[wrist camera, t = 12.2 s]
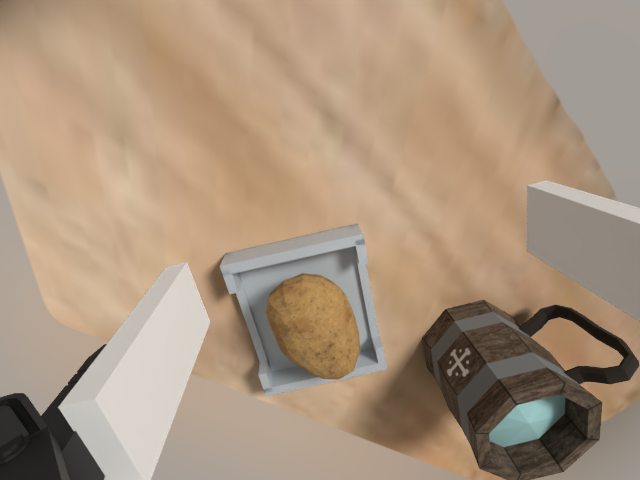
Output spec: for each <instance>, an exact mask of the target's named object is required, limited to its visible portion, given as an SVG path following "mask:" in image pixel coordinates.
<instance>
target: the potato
mask: <svg viewBox="0 0 640 480" xmlns="http://www.w3.org/2000/svg"><path fill="white" fill-rule="evenodd" d="M266 314H267V318H268V321H269V325H270V327H271V329H272V332H273V334H274V336H275V338H276V341H277V343H278V346H279V348H280V350H281V351H282V352H283V354H284V355H285V356H286V357H287V358H288V359H289V360H290V361H291V362H293V363H295V364H296V365H298V366H300V367H301V368H303V369H304V370H306V371H307V372H309V373H311V374H312V375H315V376H317V377H320V378H322V379H335V380H338V379H340V378H342V377H344V376H346V375H347V374H349V373H351V372H352V371H354V368H355V365H356V362H357V359H358V356H359V351H360V339H359V331H358V326H357V322H356V318H355V316H354V313H353V310H352V308H351V306H350V303H349V301H348V299H347V296H346V295H345V293H344V291H343V290H342V289H341V288H339V287H338V286H337V285H336V284H335V283H334V282H333V281H331V280H329V279H327V278H325V277H323V276H321V275H316V274H306V273H302V274H300V275H297V276H295V277H292V278H290V279H287V280H284V281H283V282H282V283H281V284H280V285H279V286H277V287H276V288H275V289H274V290H273V291H272V292H271V293H270V296H269V298H268V304H267V310H266Z"/></svg>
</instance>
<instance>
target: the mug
mask: <svg viewBox="0 0 640 480" xmlns="http://www.w3.org/2000/svg"><path fill="white" fill-rule="evenodd" d="M558 317H561V318H564V319H567V320H570V321H573V322H574V323H576V324H577V325H578V326H580V327H581V328H583V329H584V330H585V331H587V332H588V333H589V334H591V335H592V336H593V337H595V338H596V339H597V340H599V341H601V342H603V343H605V344H606V345H608V346H610V347H612V348H614V349H615V350H617V351H618V352H619V353H620V354H621V355H622V356H623V357H624V359H623V360H622V362H621V363H620V365H619V366H614V367H608V368H598V367H590V366H577V367H575V368H572V369H570V370H567V371H565V370H564V369H563V368H562V367H561V365H560V364H559V363H558V362H557V361H556V359H555V358H554V357H553V356H552V355H551V354H550V352H549V351H547V350H546V349H545V348H543V347H542V346H541V345H540V344H538V343H537V342H536V341H534V340H533V339H532V338H531V336H532V335H534V334H535V333H536V332H537V331H539V330H540V329H541V328H542V327H543V326H544V325H545V324H546V323H547V321H548V320H551V319H554V318H558ZM422 340H423V346H424V352H425V358H426V364H427V368H428V369H429V371H430V372H431V373H432V375H433V376H434V377H435V379H436V381H437V383H438V385H439V386H440V388H441V390H442V393H443V395H444V397H445V400H446V402H447V405H448V407H449V410H450V411H451V413H452V414H453V416H454V417H455V419H456V420H457V422H458V423H459V425H460V426H461V428H462V430H463V432H464V434H465V436H466V437H467V439H468V441H469V443H470V445H471V448H472V450H473V453H474V455H475V458H476V461H477V463H478V466H479V468H480V469H482V470H484V471H487V472H489V473H492V474H494V475H497V476H499V477H502V478H504V479H506V480H531V479H535V478H540V477H544V476H548V475H552V474H556V473H561V472H564V471H565V470H566V469H567V468H568V467H569V466H571V465H572V464H573V463H574V462H575V461H576V460H577V459H578V458H580V457H581V456H582V455H583V454H584V453H585V452H586V451H587V450H588V449H590V448H591V447H592V446H593V445H594V444H595V443H596V442H597V441H598V440H599V438H600V425H601V412H602V402H601V401H600V400H598V399H597V398H596V397H595V396H593V395H592V394H591V393H589V392H588V391H587V390H586V389H584V388H583V387H582V386H580V385H579V384H581V383H583V382H598V383H605V384H613V383H618V382H623V381H628V380H630V379H631V377H632V376H633V374H634V373H635V371H636V370H637V368H638V367H639V361H638V360H637V358H636V357H635V355H634V354H633V353H632V351H631V350H630V348H629V347H628V345H627V344H626V343H625V342H624V341H623V340H622V339H621V338H619V337H617V336H615V335H613V334H612V333H610V332H608V331H606V330H605V329H603V328H601V327H599V326H598V325H596V324H595V323H594V322H592V321H591V320H589V319H588V318H586V317H585V316H583V315H582V314H580V313H578V312H577V311H575V310H574V309H572V308H568V307H564V306H559V305H553V306H549V307H545V308H542V309H540V310H539V311H538V312H537V313H536V314H535V315H534V316H533V317H532V318H530V319H529V320H528V321H527V322H526V323H524V324H523V325H522V326H521V327H520V326H519V325H518V324H517V322H516V321H515V320H514V318H513V317H512V316H511V315H509V314H507V313H506V312H504V311H502V310H500V309H499V308H497V307H495V306H493V305H492V304H490V303H488V302H486V301H485V300H481V301H477V302H473V303H469V304H465V305H461V306H457V307H453V308H449V309H445V310H444V312H443V313H442V314H441V315H440V317H439V318H438V319H437V320H436V322H435V323H434V324H433V325H432V326H431V328H430V329H429V330H428V331H427V333H426V334H425V335H424V336H423V338H422Z"/></svg>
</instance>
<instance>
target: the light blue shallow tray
mask: <svg viewBox="0 0 640 480" xmlns="http://www.w3.org/2000/svg"><path fill="white" fill-rule="evenodd" d="M367 263H368V259H367V254H366V248H365V243H364V237H363V233H362V231H361V229H360V228H359V226H358V224H354V225H350V226H345V227H341V228H336V229H332V230H328V231H323V232H319V233H314V234H310V235H306V236H301V237H297V238H292V239H288V240H284V241H279V242H275V243H270V244H266V245H262V246H257V247H253V248H248V249H244V250H240V251H235V252H231V253H226V254H225V255H224V258H223V260H222V262H221V264H220V269H221V272H222V275H223V277H224V280H225V283H226V286H227V289H228V291H229V294H234V293H236V295H237V298H238V301H239V304H240V307H241V310H242V313H243V315H244V318H245V321H246V324H247V327H248V330H249V333H250V336H251V338H252V341H253V344H254V347H255V350H256V353H257V356H258V359H259V361H260V365H259V373H258V376H259V378H260V381H261V384H262V387H263V390H264V392H265V395H266V396H270V395H274V394H279V393H283V392H287V391H292V390H296V389H301V388H305V387H310V386H314V385H319V384H323V383H328V382H332V381H337V380H335V379H322V378H320V377H317V376H315V375H312V374H311V373H309V372H307V371H306V370H304V369H303V368H301V367H300V366H298V365H296V364H295V363H293V362H291V361H290V360H289V359H288V358H287V357H286V356H285V355H284V354H283V352H282V351H281V350H280V348H279V346H278V343H277V341H276V338H275V336H274V334H273V332H272V329H271V327H270V325H269V321H268V318H267V314H266V310H267V304H268V298H269V296H270V293H271V292H272V291H273V290H274V289H275V288H276V287H277V286H279V285H280V284H281V283H282V282H283V281H284V280H287V279H290V278H292V277H295V276H297V275H300V274H302V273H306V274H316V275H321V276H323V277H325V278H327V279H329V280H331V281H333V282H334V283H335V284H336V285H337V286H338V287H339V288H341V289H342V290H343V291H344V293H345V295H346V296H347V299H348V301H349V303H350V306H351V308H352V310H353V313H354V316H355V318H356V322H357V326H358V331H359V339H360V351H359V356H358V359H357V362H356V365H355V368H354V371H352V372H351V373H349V374H347V375H346V376H344V377H342V378H340V379H338V380H341V379H346V378H350V377H355V376H359V375H364V374H368V373H373V372H377V371H382V370H386V369H387V365H386V359H385V353H384V348H383V345H382V342H381V339H380V337H379V332H378V327H377V322H376V316H375V311H374V305H373V300H372V294H371V289H370V283H369V278H368V272H367V267H366V264H367Z"/></svg>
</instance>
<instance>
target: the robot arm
mask: <svg viewBox="0 0 640 480" xmlns="http://www.w3.org/2000/svg"><path fill="white" fill-rule="evenodd" d="M527 252H529V253H530V254H532V255H534V256H535V257H537V258H539V259H540V260H542V261H543V262H545V263H547V264H548V265H550V266H551V267H553V268H555V269H556V270H558V271H559V272H561V273H563V274H564V275H566V276H567V277H569V278H571V279H572V280H574V281H575V282H577V283H579V284H580V285H582V286H583V287H585V288H587V289H588V290H590V291H591V292H593V293H595V294H596V295H598V296H599V297H601V298H603V299H604V300H606V301H607V302H609V303H611V304H612V305H614V306H615V307H617V308H619V309H620V310H622V311H623V312H625V313H627V314H628V315H630V316H631V317H633V318H635V319H636V320H638V321H639V322H640V208H637V207H634V206H630V205H627V204H624V203H620V202H617V201H614V200H610V199H607V198H604V197H600V196H597V195H594V194H590V193H587V192H583V191H580V190H577V189H573V188H570V187H567V186H563V185H560V184H557V183H553V182H550V181H544V182H539V183H535V184H530V185H527ZM209 324H210V320H209V318H208V315H207V312H206V310H205V307H204V305H203V302H202V300H201V297H200V295H199V292H198V289H197V287H196V284H195V282H194V279H193V277H192V274H191V272H190V269H189V267H188V264H187V262H185V263H181V264H176V265H172V266H168V267H166V269H165V270H164V271H163V273H162V274H161V275H160V276H159V278H158V279H157V280H156V282H155V283H154V284H153V285H152V287H151V288H150V289H149V291H148V292H147V293H146V294H145V296H144V297H143V298H142V300H141V301H140V302H139V304H138V305H137V306H136V307H135V309H134V310H133V311H132V313H131V314H130V315H129V316H128V318H127V319H126V320H125V322H124V323H123V324H122V325H121V327H120V328H119V329H118V331H117V332H116V333H115V334H114V336H113V337H112V338H111V340H110V341H109V342H108V344H105V345H103V346H102V347H101V348H100V349H98V350H97V351H96V352H95V353H94V354H92V355H91V356H90V357H89V358H88V359H87V360H86V361H85V363H84V364H83V365H82V366H81V367H80V369H79V370H78V371H77V372H78V373H77V374H75V375H74V376H73V377H72V379H71V380H70V381H69V382H68V385H67V386H65V387H64V389H63V390H62V391H61V393H59V395H58V396H57V397H56V399H55V400H54V401H53V402H52V403H51V405H50V406H49V407H48V408H47V410H46V411H45V412H44V413H43V414H42V416H40V414H39V413H38V411H37V410H36V409H35V407H34V406H33V404H32V403H31V401H30V400H29V398H28V397H27V396H26V395H25V394H23V393H14V394H11V395H7V396H4V397H1V398H0V480H104V478H105V479H106V480H151V478H152V475H153V472H154V470H155V467H156V464H157V461H158V459H159V456H160V454H161V451H162V448H163V446H164V443H165V441H166V438H167V435H168V433H169V430H170V427H171V424H172V422H173V419H174V417H175V414H176V411H177V409H178V406H179V404H180V401H181V398H182V396H183V393H184V390H185V388H186V385H187V382H188V379H189V377H190V374H191V372H192V369H193V366H194V364H195V361H196V359H197V356H198V353H199V351H200V348H201V345H202V343H203V340H204V337H205V335H206V332H207V329H208V327H209Z"/></svg>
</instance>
